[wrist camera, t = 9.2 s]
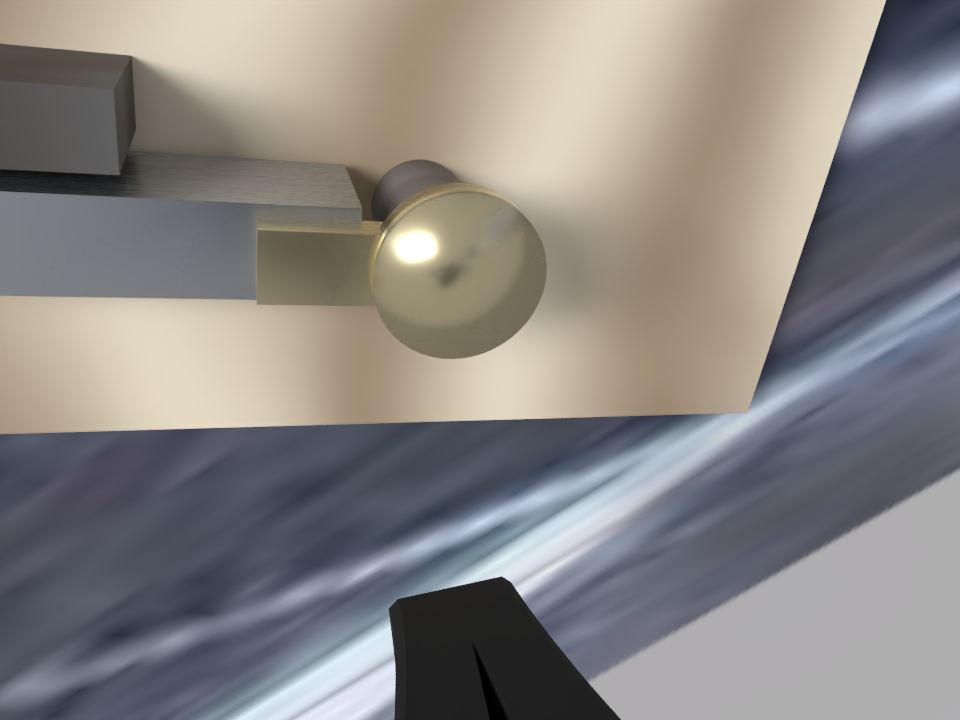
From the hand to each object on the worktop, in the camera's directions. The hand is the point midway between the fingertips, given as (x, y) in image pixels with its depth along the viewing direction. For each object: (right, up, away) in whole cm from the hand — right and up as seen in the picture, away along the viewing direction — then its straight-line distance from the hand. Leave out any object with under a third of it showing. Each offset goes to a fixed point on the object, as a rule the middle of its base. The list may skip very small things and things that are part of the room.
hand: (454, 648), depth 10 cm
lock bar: (-4, +6, +5) cm, 9 cm away
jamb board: (-1, +8, +6) cm, 10 cm away
